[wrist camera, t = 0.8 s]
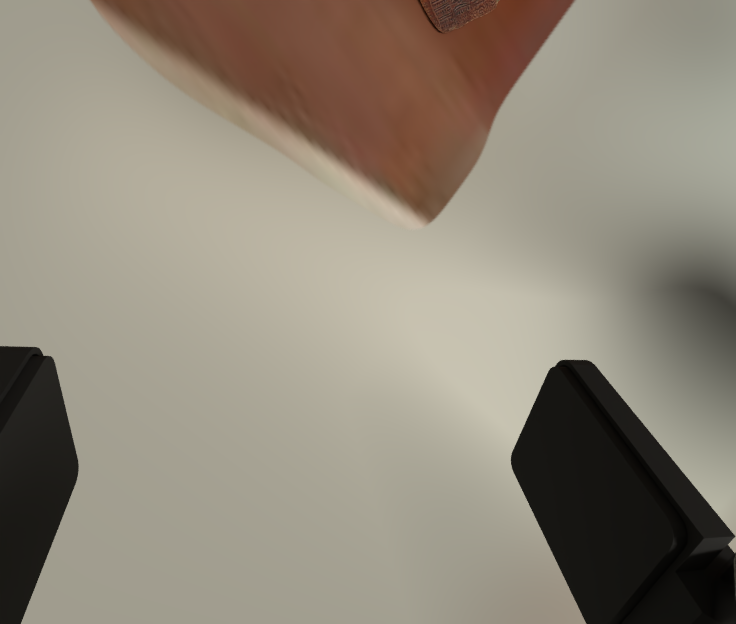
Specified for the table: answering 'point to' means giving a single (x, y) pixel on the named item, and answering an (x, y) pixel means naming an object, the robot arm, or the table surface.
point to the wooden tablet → (456, 12)
